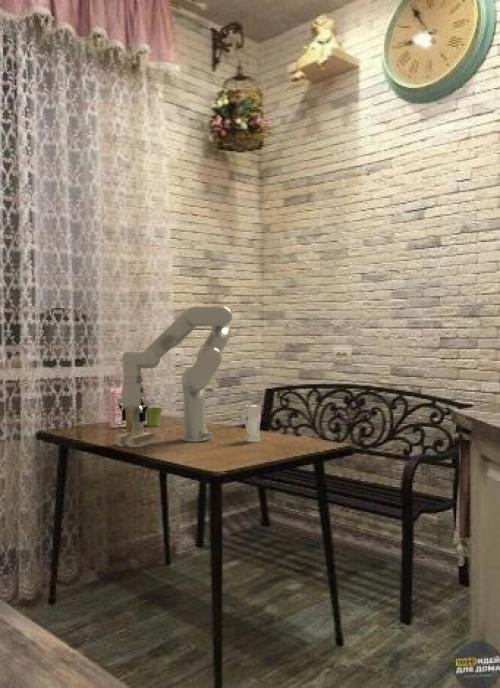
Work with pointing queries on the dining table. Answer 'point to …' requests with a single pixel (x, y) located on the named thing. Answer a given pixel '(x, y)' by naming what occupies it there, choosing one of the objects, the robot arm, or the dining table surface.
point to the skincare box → (133, 422)
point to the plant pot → (153, 416)
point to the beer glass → (252, 422)
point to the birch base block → (134, 440)
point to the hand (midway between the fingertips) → (133, 421)
